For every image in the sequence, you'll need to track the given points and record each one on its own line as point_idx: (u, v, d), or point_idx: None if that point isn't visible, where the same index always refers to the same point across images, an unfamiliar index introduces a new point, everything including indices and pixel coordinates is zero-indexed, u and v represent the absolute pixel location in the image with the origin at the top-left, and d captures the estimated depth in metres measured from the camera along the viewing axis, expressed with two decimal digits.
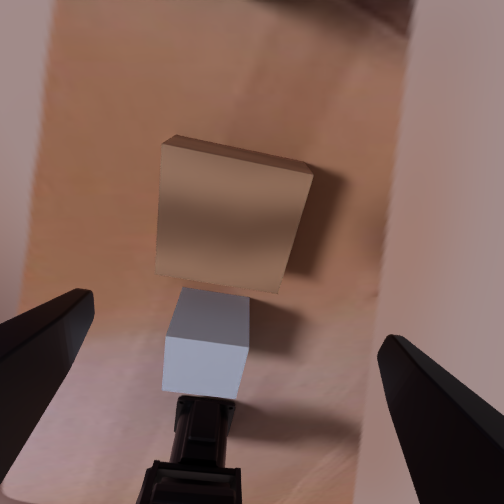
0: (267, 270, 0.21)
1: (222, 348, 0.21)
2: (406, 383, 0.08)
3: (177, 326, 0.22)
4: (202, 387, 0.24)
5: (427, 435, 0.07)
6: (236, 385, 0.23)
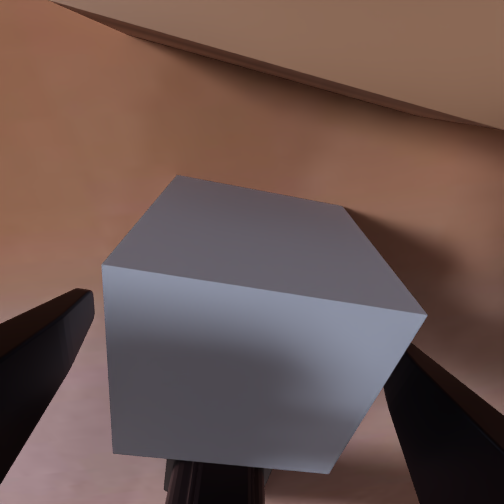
0: None
1: (323, 317, 0.06)
2: (406, 383, 0.08)
3: (154, 241, 0.06)
4: (237, 445, 0.08)
5: (427, 435, 0.07)
6: (340, 440, 0.08)
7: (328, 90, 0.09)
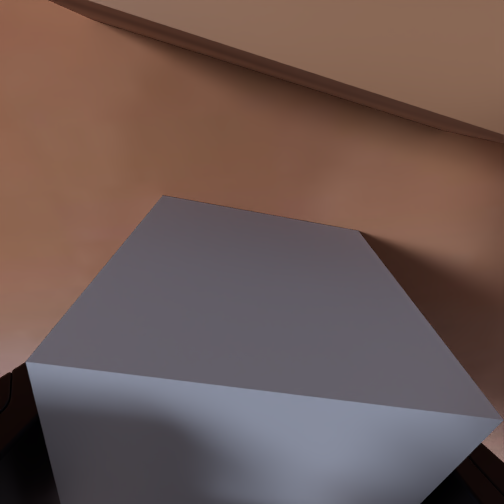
0: None
1: (355, 423, 0.04)
2: None
3: (115, 307, 0.04)
4: None
5: None
6: None
7: (339, 96, 0.07)
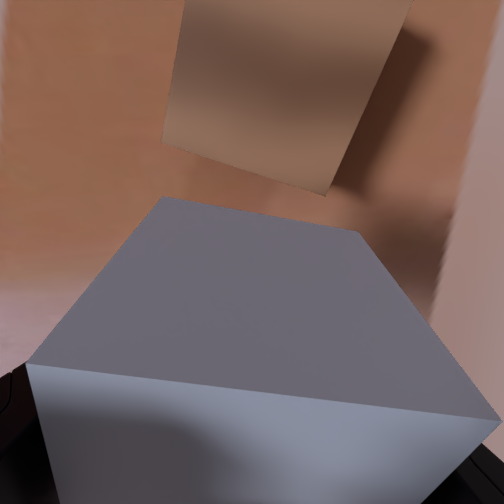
0: (319, 155, 0.15)
1: (354, 424, 0.04)
2: None
3: (116, 309, 0.04)
4: None
5: None
6: None
7: None
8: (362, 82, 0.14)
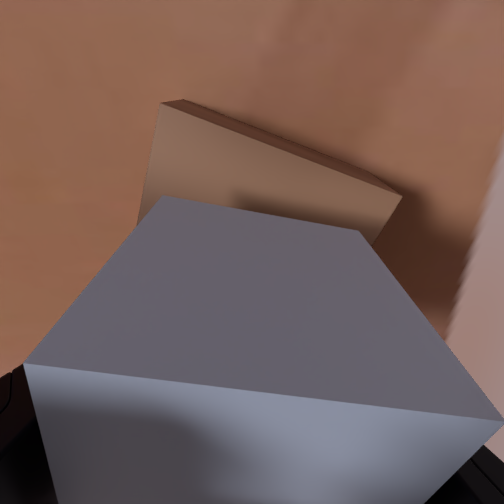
0: None
1: (356, 425, 0.04)
2: None
3: (115, 307, 0.04)
4: None
5: None
6: None
7: None
8: None
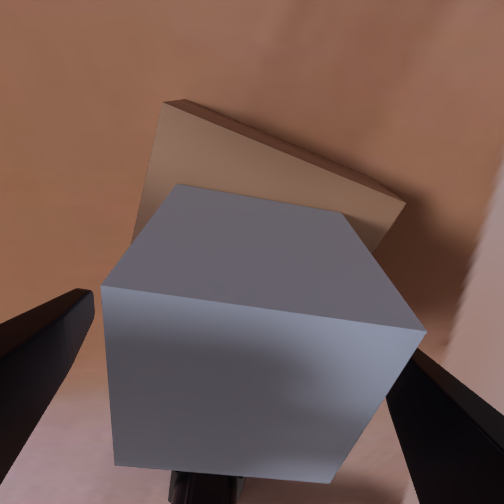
0: None
1: (323, 334, 0.06)
2: (406, 383, 0.08)
3: (152, 258, 0.06)
4: (237, 456, 0.08)
5: (427, 435, 0.07)
6: (341, 451, 0.08)
7: None
8: None
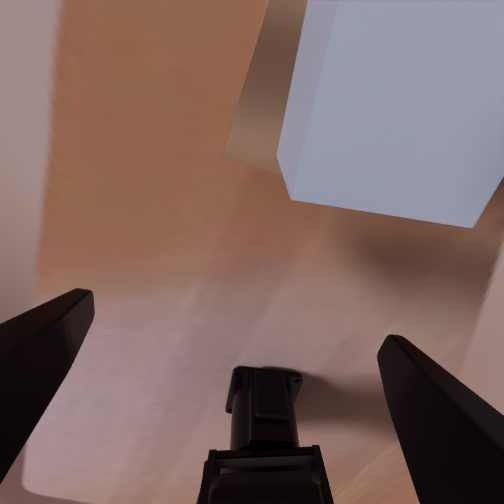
0: None
1: None
2: (406, 383, 0.08)
3: None
4: (402, 184, 0.09)
5: (427, 435, 0.07)
6: (496, 176, 0.09)
7: None
8: None
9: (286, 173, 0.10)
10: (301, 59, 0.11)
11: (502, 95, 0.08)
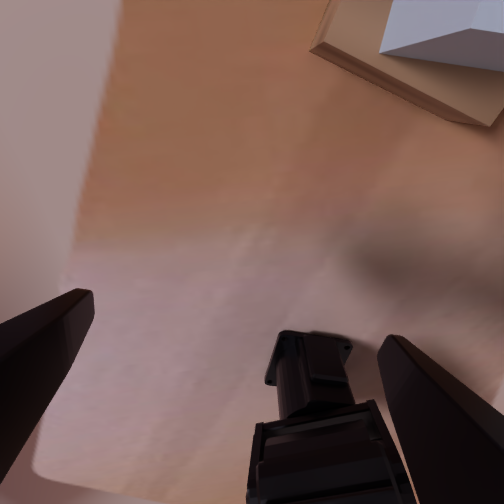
0: (499, 73, 0.13)
1: None
2: (406, 383, 0.08)
3: None
4: None
5: (427, 435, 0.07)
6: None
7: (404, 98, 0.17)
8: None
9: (434, 27, 0.09)
10: None
11: None
